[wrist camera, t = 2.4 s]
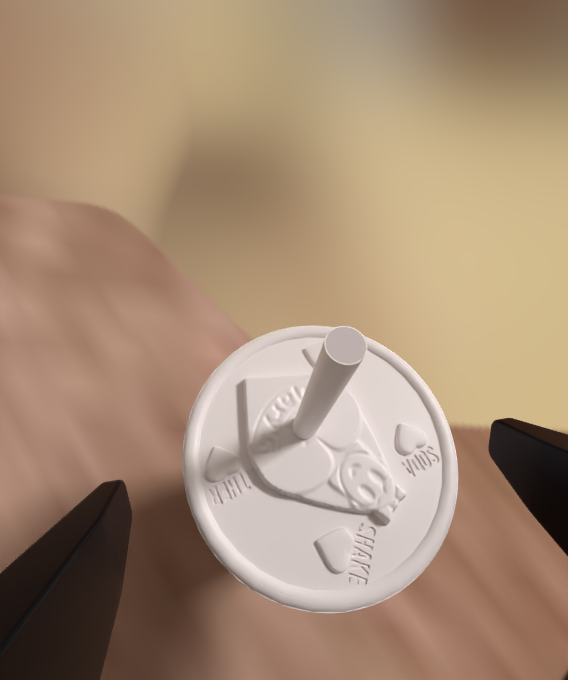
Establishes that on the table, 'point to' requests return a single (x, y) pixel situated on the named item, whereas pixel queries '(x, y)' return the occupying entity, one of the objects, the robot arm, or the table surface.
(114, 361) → the table surface
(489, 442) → the robot arm
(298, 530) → the smoothie
